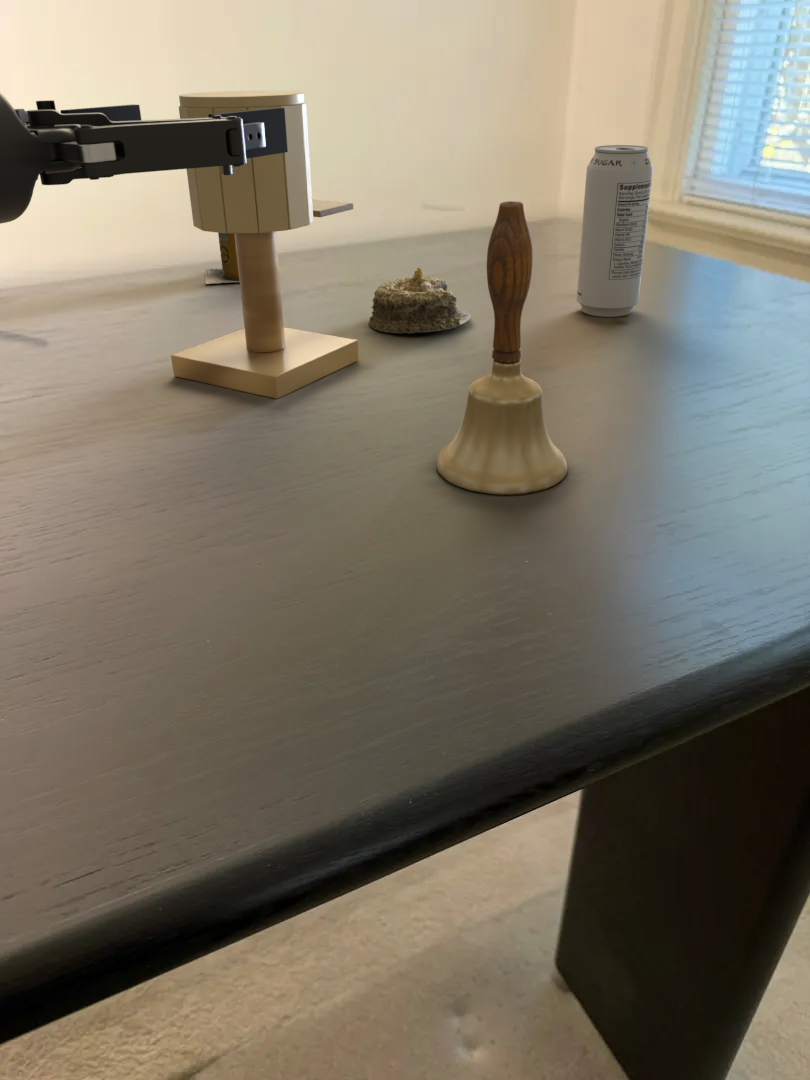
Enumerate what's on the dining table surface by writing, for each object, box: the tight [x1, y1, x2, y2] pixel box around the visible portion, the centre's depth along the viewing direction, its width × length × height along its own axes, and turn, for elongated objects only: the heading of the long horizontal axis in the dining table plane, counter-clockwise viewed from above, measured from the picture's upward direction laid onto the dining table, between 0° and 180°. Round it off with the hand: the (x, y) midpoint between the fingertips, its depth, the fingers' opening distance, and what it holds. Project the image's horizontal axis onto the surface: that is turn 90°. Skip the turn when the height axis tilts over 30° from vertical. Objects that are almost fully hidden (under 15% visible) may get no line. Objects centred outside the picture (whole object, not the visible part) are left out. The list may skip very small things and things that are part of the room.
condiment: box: [204, 233, 240, 285], centre depth 102 cm, size 7×8×12 cm
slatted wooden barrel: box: [178, 90, 354, 234], centre depth 68 cm, size 9×13×9 cm
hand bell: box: [436, 200, 568, 496], centre depth 53 cm, size 8×8×16 cm
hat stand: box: [170, 231, 359, 400], centre depth 70 cm, size 11×11×20 cm
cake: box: [368, 267, 472, 335], centre depth 85 cm, size 10×10×5 cm
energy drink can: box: [576, 144, 654, 318], centre depth 85 cm, size 6×6×15 cm
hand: (207, 127), depth 63 cm, fingers open, 13 cm apart
